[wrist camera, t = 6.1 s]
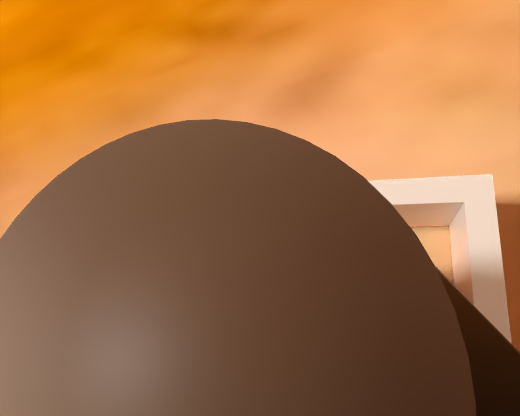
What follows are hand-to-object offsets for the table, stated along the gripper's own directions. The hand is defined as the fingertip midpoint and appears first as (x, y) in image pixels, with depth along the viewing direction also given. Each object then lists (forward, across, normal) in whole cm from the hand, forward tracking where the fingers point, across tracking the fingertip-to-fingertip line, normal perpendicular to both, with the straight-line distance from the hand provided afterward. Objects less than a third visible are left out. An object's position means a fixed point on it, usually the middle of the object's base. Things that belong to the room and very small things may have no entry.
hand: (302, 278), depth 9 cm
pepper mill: (+4, 0, +6) cm, 7 cm away
